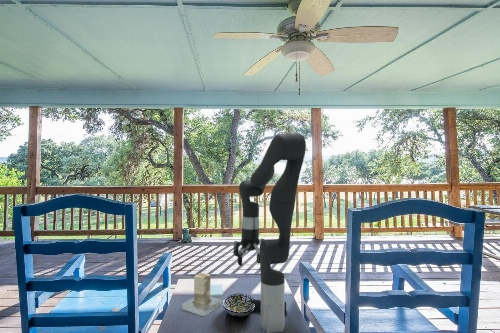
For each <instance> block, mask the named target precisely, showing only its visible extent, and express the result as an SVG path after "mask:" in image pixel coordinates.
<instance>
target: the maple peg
mask: <svg viewBox="0 0 500 333" xmlns="http://www.w3.org/2000/svg"><path fill="white" fill-rule="evenodd" d="M193 281H194V282H193V283H194V284H193V285H194V287H193V298H194V303H195V304H198V305H201V306H204V305H206V304H207V303H209V302H210V297H211V296H210V285H211V274H209V273H204V272H199V273H198V274H196V275H194V276H193Z"/></svg>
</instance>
